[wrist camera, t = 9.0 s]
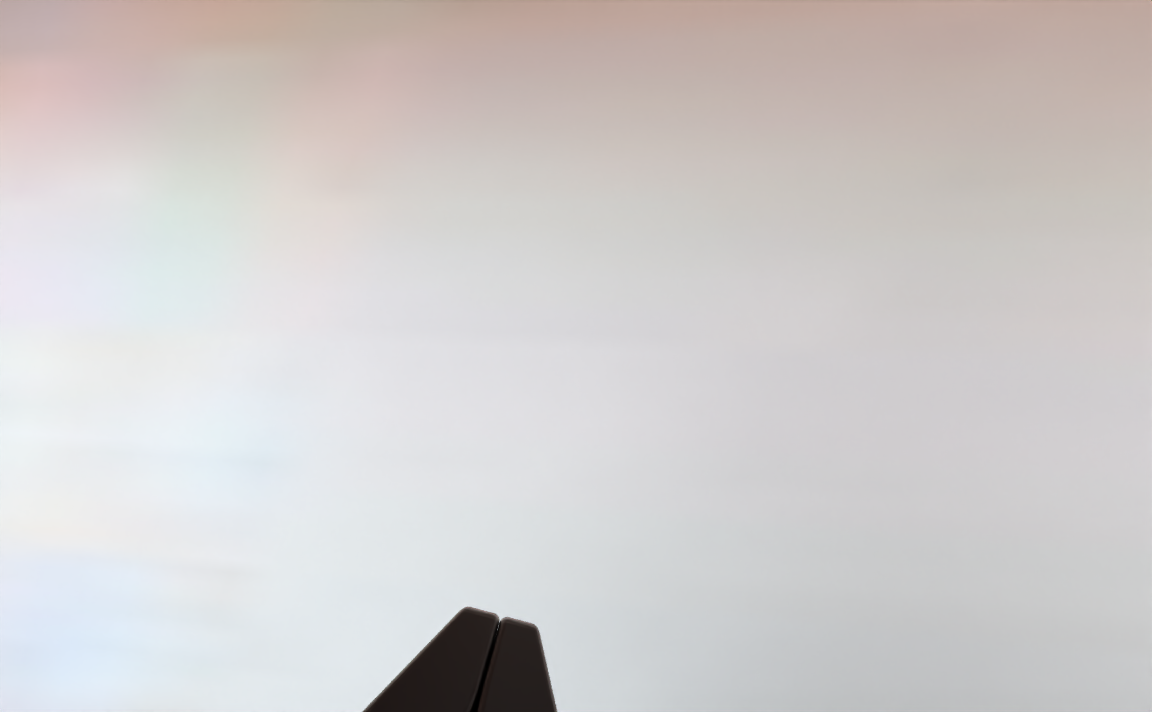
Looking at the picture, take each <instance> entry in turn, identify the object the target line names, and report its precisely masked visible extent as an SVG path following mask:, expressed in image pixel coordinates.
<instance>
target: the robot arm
mask: <svg viewBox="0 0 1152 712" xmlns="http://www.w3.org/2000/svg"><path fill="white" fill-rule="evenodd" d="M498 625H499V627H498ZM497 629H498V630H497ZM496 633H497V634H496ZM363 712H557V708H556V704H555V699H554V695H553V690H552V686H551V681H550V677H549V673H548V668H547V664H546V659H545V655H544V650H543V646H542V641H541V637H540V633H539V630H538V628H537V626H536V625H534V624H532V623H528V622H524V621H521V620H517V619H513V618H509V617H505V618H503V619H502V620H501V621H500V623H499V617H498V616H497V615H496V614H494V613H491V612H487V611H483V610H480V609H476V608H472V607H465V608H463V609H462V610H460V611H459V612H458V613H457V614H456V615H455V616H454V617H453V618H452V619H451V620H450V621H449V623H448V624H447V625H446V626H445V627H444V628H443V629H442V630H441V631H440V632H439V633H438V634H437V635H436V636H435V637H434V638H433V639H432V640H431V641H430V642H429V643H428V644H427V645H426V646H425V647H424V648H423V649H422V651H421V652H420V653H419V654H418V655H417V656H416V657H415V658H414V659H413V660H412V661H411V662H410V663H409V664H408V665H407V666H406V667H405V668H404V669H403V670H402V671H401V672H400V673H399V674H398V675H397V676H396V677H395V679H394V680H393V681H392V682H391V683H390V684H389V685H388V686H387V687H386V688H385V689H384V690H383V691H382V692H381V693H380V694H379V695H378V696H377V697H376V698H375V699H374V700H373V701H372V702H371V703H370V704H369V705H368V707H367V708H366V709H365V710H364V711H363Z"/></svg>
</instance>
